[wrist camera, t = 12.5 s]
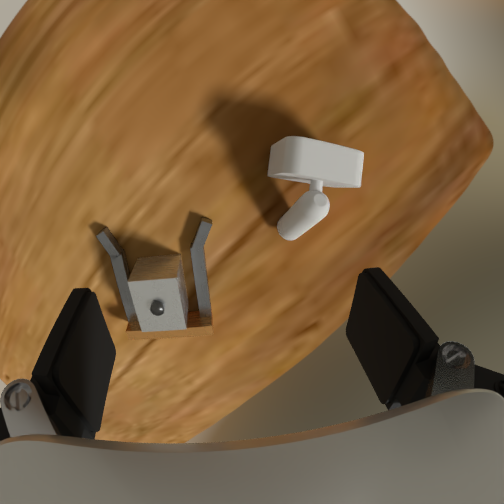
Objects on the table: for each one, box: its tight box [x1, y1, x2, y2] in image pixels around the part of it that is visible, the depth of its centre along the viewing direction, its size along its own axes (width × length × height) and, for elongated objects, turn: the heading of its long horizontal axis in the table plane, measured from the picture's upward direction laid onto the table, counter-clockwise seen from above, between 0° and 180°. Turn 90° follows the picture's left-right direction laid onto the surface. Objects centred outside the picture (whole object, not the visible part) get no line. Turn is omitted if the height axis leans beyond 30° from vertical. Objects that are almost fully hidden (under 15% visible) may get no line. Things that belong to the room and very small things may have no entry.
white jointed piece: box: [267, 136, 364, 240], centre depth 31 cm, size 8×10×10 cm
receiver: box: [96, 217, 213, 340], centre depth 36 cm, size 15×14×4 cm
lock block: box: [128, 254, 188, 332], centre depth 35 cm, size 7×6×7 cm
